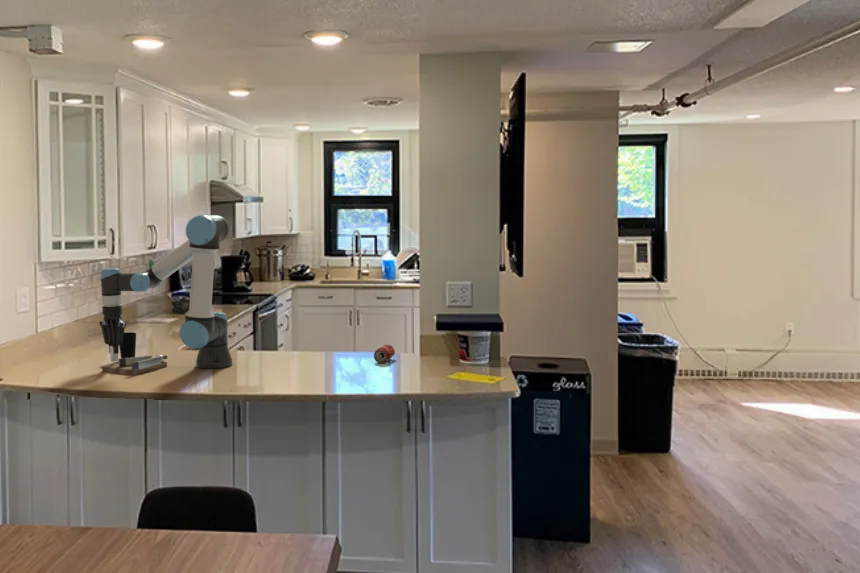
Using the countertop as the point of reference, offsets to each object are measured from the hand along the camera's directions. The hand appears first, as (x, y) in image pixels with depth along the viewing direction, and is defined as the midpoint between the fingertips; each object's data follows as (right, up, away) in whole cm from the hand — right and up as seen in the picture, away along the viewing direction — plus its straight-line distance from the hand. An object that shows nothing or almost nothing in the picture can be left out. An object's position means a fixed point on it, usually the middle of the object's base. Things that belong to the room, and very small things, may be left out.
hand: (114, 361), depth 317 cm
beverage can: (+112, -2, +16) cm, 113 cm away
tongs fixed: (+15, -2, -2) cm, 15 cm away
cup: (-2, -2, +20) cm, 20 cm away
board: (+8, -3, +1) cm, 9 cm away
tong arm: (+9, -1, 0) cm, 9 cm away
